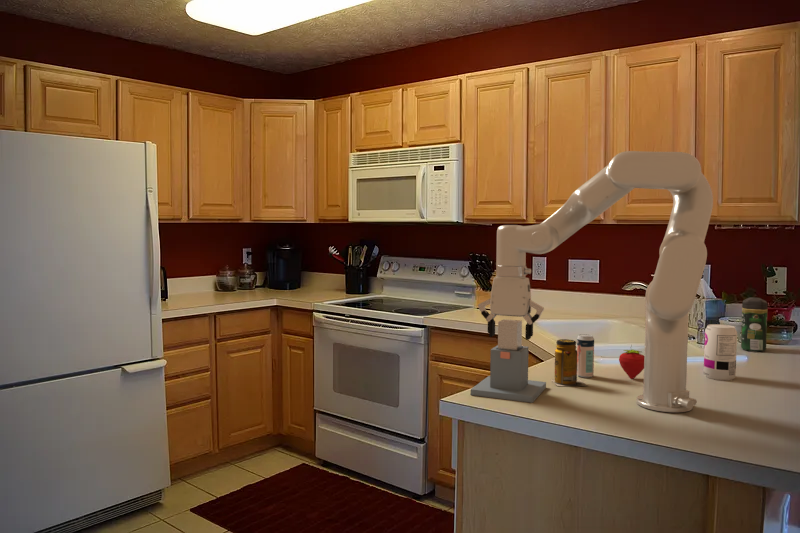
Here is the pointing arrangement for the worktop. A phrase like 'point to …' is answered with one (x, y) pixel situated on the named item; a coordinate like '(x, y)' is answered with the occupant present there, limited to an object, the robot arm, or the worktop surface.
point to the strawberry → (632, 362)
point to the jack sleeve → (509, 377)
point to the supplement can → (720, 352)
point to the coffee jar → (754, 324)
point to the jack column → (510, 335)
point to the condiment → (566, 364)
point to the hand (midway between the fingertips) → (509, 337)
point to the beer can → (585, 356)
